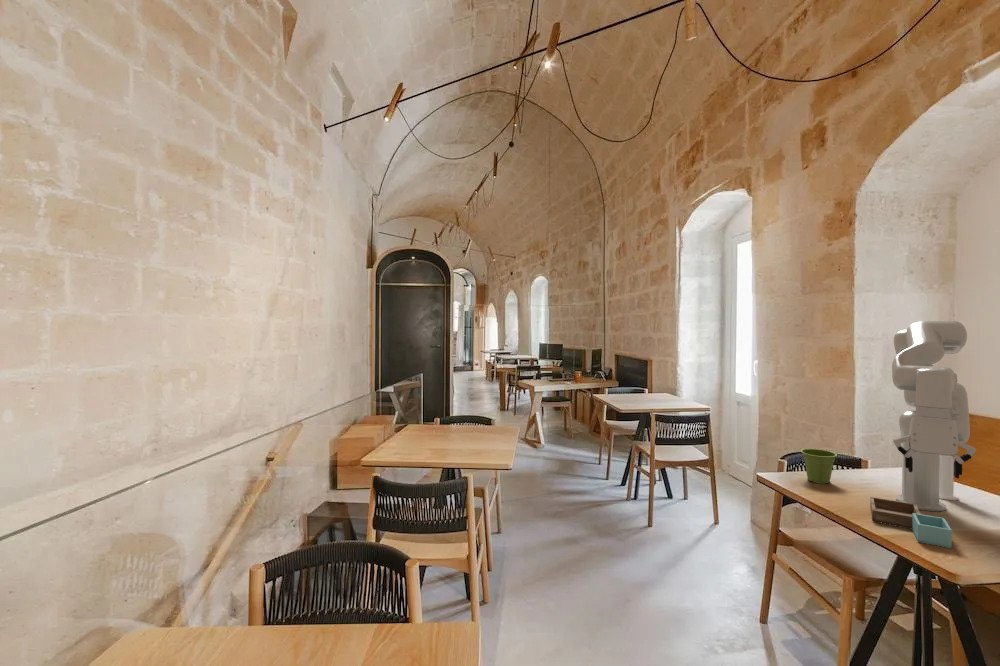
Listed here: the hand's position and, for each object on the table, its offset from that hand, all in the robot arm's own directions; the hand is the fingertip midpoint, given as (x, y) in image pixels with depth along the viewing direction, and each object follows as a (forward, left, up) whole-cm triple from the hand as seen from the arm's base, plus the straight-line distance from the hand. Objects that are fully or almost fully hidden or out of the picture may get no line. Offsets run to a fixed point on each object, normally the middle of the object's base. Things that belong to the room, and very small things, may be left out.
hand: (932, 474), depth 135 cm
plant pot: (-45, -28, -19) cm, 57 cm away
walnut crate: (-15, -7, -19) cm, 25 cm away
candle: (-50, +9, -19) cm, 54 cm away
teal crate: (-2, 0, -19) cm, 19 cm away
